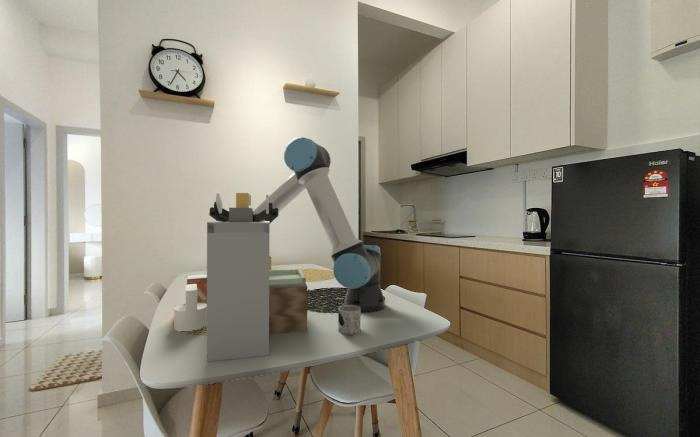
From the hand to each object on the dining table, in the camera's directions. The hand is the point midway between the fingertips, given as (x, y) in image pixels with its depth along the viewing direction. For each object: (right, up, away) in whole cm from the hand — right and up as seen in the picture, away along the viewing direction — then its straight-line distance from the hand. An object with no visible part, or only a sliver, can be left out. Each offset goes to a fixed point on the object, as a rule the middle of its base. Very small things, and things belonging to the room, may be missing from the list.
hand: (242, 198), depth 88 cm
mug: (+31, -40, +2) cm, 50 cm away
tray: (+10, -26, +9) cm, 29 cm away
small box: (-21, -39, +17) cm, 47 cm away
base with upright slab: (-18, -39, +5) cm, 43 cm away
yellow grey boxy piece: (+2, -9, -4) cm, 10 cm away
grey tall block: (+3, -39, -9) cm, 40 cm away
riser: (+10, -39, +9) cm, 41 cm away
